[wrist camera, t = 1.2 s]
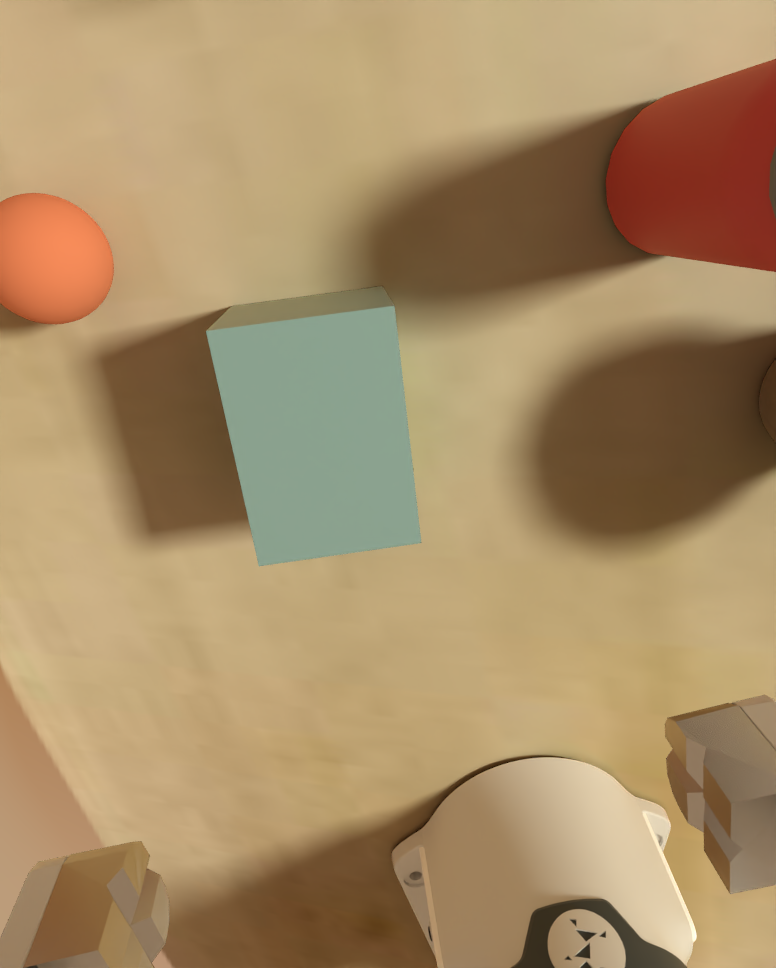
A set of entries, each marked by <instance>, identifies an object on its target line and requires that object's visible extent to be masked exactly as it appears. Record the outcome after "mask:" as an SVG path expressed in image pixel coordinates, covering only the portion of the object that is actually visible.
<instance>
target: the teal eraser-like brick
mask: <svg viewBox="0 0 776 968" xmlns="http://www.w3.org/2000/svg"><path fill="white" fill-rule="evenodd" d="M206 334H207V338H208V343H209V347H210V352H211V356H212V360H213V365H214V369H215V374H216V378H217V383H218V387H219V391H220V396H221V400H222V405H223V409H224V414H225V418H226V422H227V427H228V431H229V436H230V440H231V445H232V449H233V453H234V458H235V462H236V467H237V471H238V475H239V480H240V484H241V489H242V493H243V498H244V502H245V506H246V511H247V515H248V520H249V524H250V529H251V533H252V537H253V542H254V546H255V551H256V555H257V560H258V564H259V566H264V565H271V564H278V563H285V562H292V561H299V560H306V559H313V558H320V557H327V556H334V555H341V554H348V553H355V552H362V551H369V550H376V549H383V548H390V547H397V546H404V545H411V544H418V543H421V536H420V527H419V518H418V509H417V501H416V492H415V483H414V474H413V465H412V456H411V448H410V439H409V430H408V421H407V412H406V403H405V395H404V386H403V377H402V368H401V359H400V350H399V342H398V333H397V324H396V315H395V306H394V304H393V303H392V301H391V299H390V298H389V296H388V294H387V293H386V291H385V289H384V288H383V286H379V287H371V288H364V289H356V290H349V291H341V292H334V293H326V294H319V295H311V296H304V297H296V298H289V299H281V300H274V301H266V302H259V303H251V304H244V305H236V306H231V307H230V308H229V309H228V310H227V311H226V312H225V313H224V314H223V315H222V316H221V317H220V318H219V319H218V320H217V321H216V322H215V323H214V324H213V325H212V326H211V327H209V328H208V329H207V330H206Z"/></svg>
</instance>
